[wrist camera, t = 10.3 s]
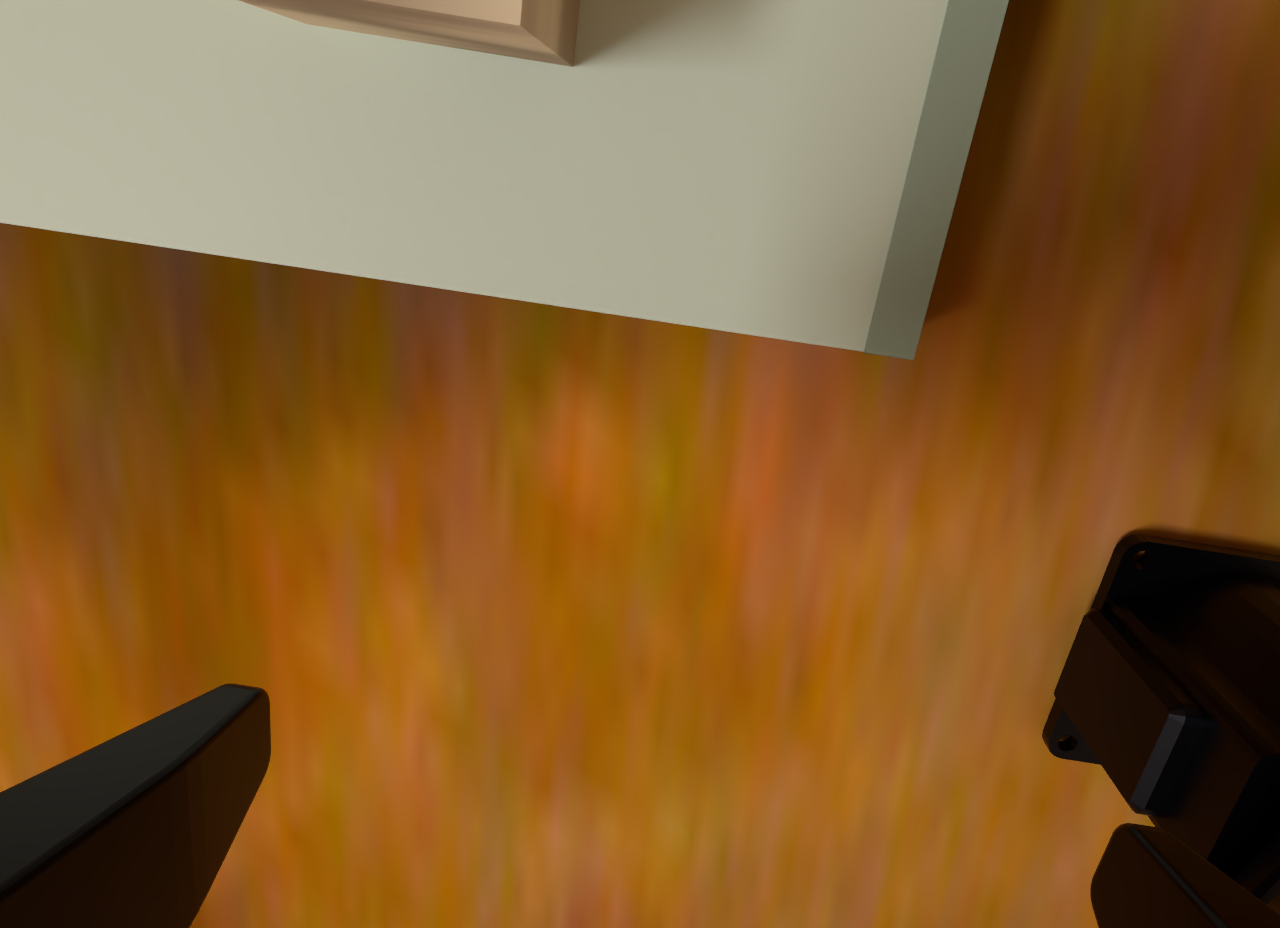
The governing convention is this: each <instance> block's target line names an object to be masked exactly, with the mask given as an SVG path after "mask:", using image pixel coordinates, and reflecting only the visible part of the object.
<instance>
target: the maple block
mask: <svg viewBox="0 0 1280 928" xmlns="http://www.w3.org/2000/svg"><path fill="white" fill-rule="evenodd" d="M239 1H242V2H245V3H248V4H251V5H253V6H256V7H259V8H262V9H265V10H268V11H271V12H273V13H276V14H279V15H282V16H285V17H288V18H290V19H293V20H296V21H299V22H302V23H305V24H308V25H315V26H321V27H327V28H333V29H340V30H346V31H352V32H358V33H364V34H371V35H377V36H383V37H389V38H396V39H402V40H408V41H414V42H421V43H427V44H433V45H439V46H445V47H452V48H458V49H464V50H470V51H477V52H483V53H489V54H495V55H502V56H508V57H514V58H520V59H526V60H533V61H539V62H545V63H551V64H558V65H564V66H570V67H573V63H574V54H575V45H576V36H577V27H578V17H579V8H580V0H239Z"/></svg>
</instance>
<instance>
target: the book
mask: <svg viewBox="0 0 1280 928" xmlns="http://www.w3.org/2000/svg"><path fill="white" fill-rule="evenodd" d="M1008 2H1009V0H580V8H579V17H578V27H577V36H576V45H575V54H574V63H573V67H570V66H564V65H558V64H551V63H545V62H539V61H533V60H526V59H520V58H514V57H508V56H502V55H495V54H489V53H483V52H477V51H470V50H464V49H458V48H452V47H445V46H439V45H433V44H427V43H421V42H414V41H408V40H402V39H396V38H389V37H383V36H377V35H371V34H364V33H358V32H352V31H346V30H340V29H333V28H327V27H321V26H315V25H308V24H305V23H302V22H299V21H296V20H293V19H290V18H288V17H285V16H282V15H279V14H276V13H273V12H271V11H268V10H265V9H262V8H259V7H256V6H253V5H251V4H248V3H245V2H242V1H239V0H0V223H7V224H13V225H20V226H27V227H33V228H40V229H47V230H53V231H60V232H67V233H74V234H80V235H87V236H94V237H100V238H107V239H114V240H120V241H127V242H134V243H140V244H147V245H154V246H160V247H167V248H174V249H180V250H187V251H194V252H200V253H207V254H214V255H220V256H227V257H234V258H241V259H247V260H254V261H261V262H267V263H274V264H281V265H287V266H294V267H301V268H307V269H314V270H321V271H327V272H334V273H341V274H347V275H354V276H361V277H367V278H374V279H381V280H388V281H394V282H401V283H408V284H414V285H421V286H428V287H434V288H441V289H448V290H454V291H461V292H468V293H474V294H481V295H488V296H494V297H501V298H508V299H514V300H521V301H528V302H534V303H541V304H548V305H555V306H561V307H568V308H575V309H581V310H588V311H595V312H601V313H608V314H615V315H621V316H628V317H635V318H641V319H648V320H655V321H661V322H668V323H675V324H681V325H688V326H695V327H702V328H708V329H715V330H722V331H728V332H735V333H742V334H748V335H755V336H762V337H768V338H775V339H782V340H788V341H795V342H802V343H808V344H815V345H822V346H828V347H835V348H842V349H849V350H855V351H862V352H864V353H869V354H876V355H882V356H889V357H896V358H902V359H909V360H914V357H915V353H916V349H917V346H918V342H919V338H920V334H921V331H922V327H923V323H924V319H925V315H926V312H927V308H928V304H929V300H930V297H931V293H932V289H933V285H934V281H935V278H936V274H937V270H938V266H939V263H940V259H941V255H942V251H943V247H944V244H945V240H946V236H947V232H948V229H949V225H950V221H951V217H952V213H953V210H954V206H955V202H956V198H957V195H958V191H959V187H960V183H961V179H962V176H963V172H964V168H965V164H966V161H967V157H968V153H969V149H970V145H971V142H972V138H973V134H974V130H975V126H976V123H977V119H978V115H979V111H980V108H981V104H982V100H983V96H984V92H985V89H986V85H987V81H988V77H989V74H990V70H991V66H992V62H993V58H994V55H995V51H996V47H997V43H998V40H999V36H1000V32H1001V28H1002V24H1003V21H1004V17H1005V13H1006V9H1007V6H1008Z"/></svg>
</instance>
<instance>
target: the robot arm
mask: <svg viewBox="0 0 1280 928" xmlns="http://www.w3.org/2000/svg"><path fill="white" fill-rule="evenodd" d="M1140 551H1145V555H1144V556H1143V557H1142V559H1140V560H1138V561H1136V562H1132V558H1133V556H1134V555H1135V554H1136V553H1138V552H1140ZM1054 695H1055V697H1056V699H1055V701H1054V704H1053V706H1052V709H1051V711H1050V714H1049V717H1048V719H1047V722H1046V724H1045V727H1044V729H1043V734H1042V738H1043V740H1044V742H1045V744H1046V746H1047V747H1048V749H1049V751H1050V752H1051V753H1052V754H1053V755H1054V756H1056V757H1059V758H1062V759H1068V760H1075V761H1081V762H1088V763H1094V764H1100V765H1102V767H1103V768H1104V770H1105V771H1106V772H1107V774H1108V775H1109V777H1110V778H1111V780H1112V781H1113V783H1114V784H1115V786H1116V787H1117V789H1118V790H1119V792H1120V793H1121V795H1122V796H1123V798H1124V799H1125V800H1126V802H1127V803H1128V805H1129V806H1130V808H1131V809H1132V810H1133V811H1134V812H1135V813H1136V814H1142V815H1148V817H1149V818H1150V820H1151V821H1152V823H1153V824H1154V825H1155V827H1151V826H1144V825H1138V824H1132V823H1126V824H1121V825H1120V826H1118V827H1117V828H1116V829H1115V831H1114V832H1113V834H1112V836H1111V838H1110V841H1109V843H1108V845H1107V847H1106V849H1105V852H1104V854H1103V856H1102V858H1101V860H1100V863H1099V865H1098V867H1097V869H1096V871H1095V874H1094V876H1093V879H1092V883H1091V902H1092V907H1093V910H1094V914H1095V917H1096V920H1097V923H1098V927H1099V928H1280V556H1277V555H1270V554H1264V553H1257V552H1251V551H1245V550H1238V549H1232V548H1225V547H1219V546H1212V545H1206V544H1199V543H1193V542H1187V541H1180V540H1174V539H1167V538H1161V537H1154V536H1148V535H1131V536H1128V537H1125V538H1124V539H1123V540H1121V541H1120V542H1119V543H1118V544H1117V546H1116V547H1115V549H1114V551H1113V553H1112V556H1111V559H1110V561H1109V564H1108V566H1107V569H1106V571H1105V574H1104V576H1103V579H1102V581H1101V584H1100V587H1099V589H1098V592H1097V594H1096V597H1095V599H1094V602H1093V604H1092V607H1091V610H1090V611H1089V612H1088V613H1087V614H1086V615H1085V616H1084V617H1083V620H1082V622H1081V625H1080V627H1079V630H1078V632H1077V635H1076V638H1075V640H1074V643H1073V645H1072V648H1071V650H1070V653H1069V656H1068V658H1067V661H1066V663H1065V666H1064V668H1063V671H1062V673H1061V676H1060V679H1059V681H1058V684H1057V686H1056V689H1055V692H1054ZM1064 736H1070V737H1069V738H1068V739H1066V740H1064V741H1059V740H1060V739H1061V738H1062V737H1064ZM270 755H271V732H270V701H269V696H268V694H267V692H266V691H265V690H264V689H262V688H258V687H252V686H245V685H239V684H225V685H222V686H220V687H217V688H215V689H213V690H211V691H209V692H207V693H205V694H203V695H201V696H199V697H197V698H195V699H193V700H191V701H188V702H186V703H184V704H182V705H180V706H178V707H176V708H174V709H172V710H170V711H168V712H166V713H164V714H162V715H160V716H157V717H155V718H153V719H151V720H149V721H147V722H145V723H143V724H141V725H139V726H137V727H135V728H133V729H131V730H129V731H126V732H124V733H122V734H120V735H118V736H116V737H114V738H112V739H110V740H108V741H106V742H104V743H102V744H100V745H98V746H95V747H93V748H91V749H89V750H87V751H85V752H83V753H81V754H79V755H77V756H75V757H73V758H71V759H69V760H67V761H64V762H62V763H60V764H58V765H56V766H54V767H52V768H50V769H48V770H46V771H44V772H42V773H40V774H38V775H36V776H33V777H31V778H29V779H27V780H25V781H23V782H21V783H19V784H17V785H15V786H13V787H11V788H9V789H7V790H5V791H2V792H0V928H189V927H190V926H191V924H192V922H193V920H194V919H195V917H196V915H197V913H198V911H199V909H200V908H201V906H202V904H203V902H204V900H205V898H206V896H207V894H208V892H209V890H210V888H211V886H212V884H213V882H214V880H215V878H216V875H217V873H218V871H219V869H220V867H221V865H222V863H223V861H224V859H225V857H226V855H227V853H228V851H229V849H230V847H231V844H232V842H233V840H234V838H235V836H236V834H237V832H238V830H239V828H240V826H241V824H242V822H243V820H244V818H245V816H246V813H247V811H248V809H249V807H250V805H251V803H252V801H253V799H254V797H255V795H256V793H257V791H258V789H259V787H260V785H261V783H262V780H263V778H264V776H265V774H266V771H267V768H268V765H269V761H270Z"/></svg>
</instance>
